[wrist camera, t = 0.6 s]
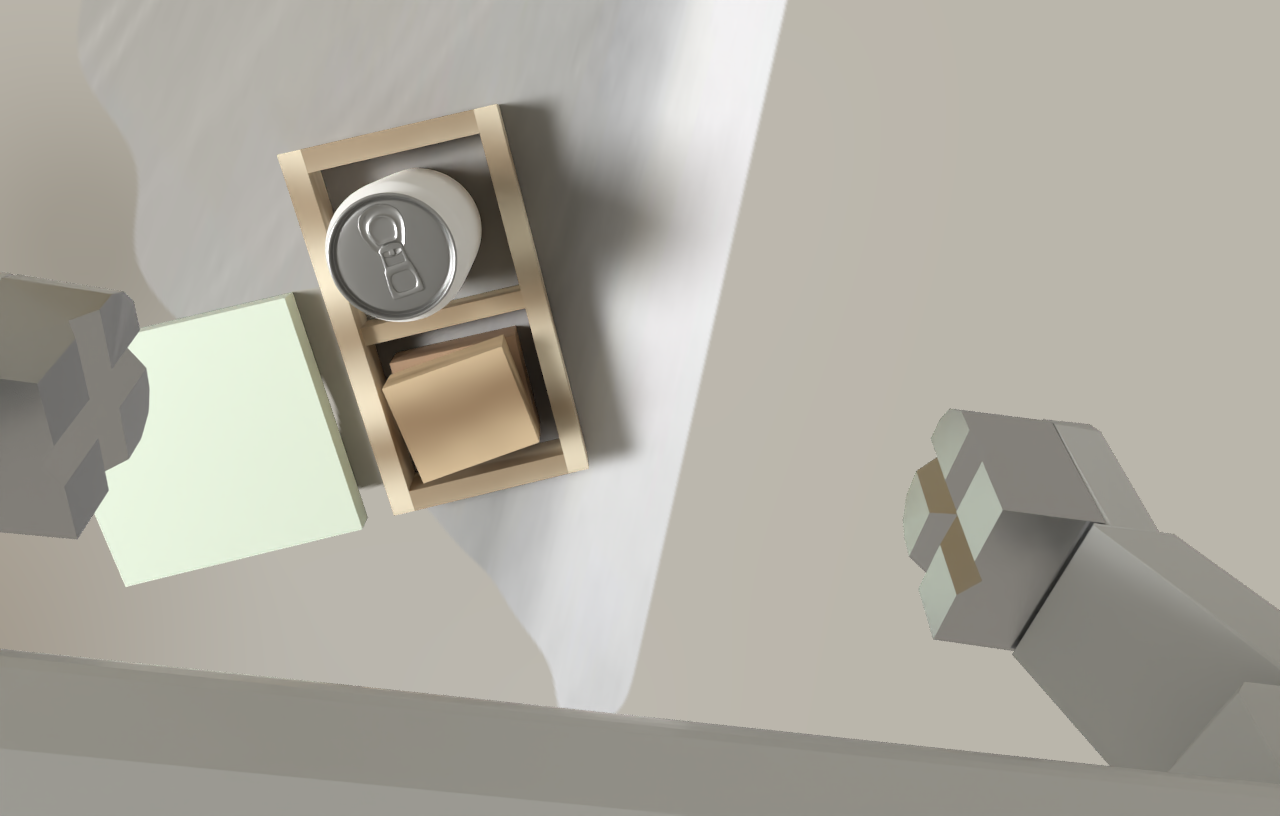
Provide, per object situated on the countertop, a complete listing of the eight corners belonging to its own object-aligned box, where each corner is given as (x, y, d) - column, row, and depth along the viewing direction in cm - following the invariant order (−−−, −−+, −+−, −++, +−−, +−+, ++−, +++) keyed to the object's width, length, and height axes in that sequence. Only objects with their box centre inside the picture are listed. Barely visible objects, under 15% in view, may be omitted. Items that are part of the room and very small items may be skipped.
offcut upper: (539, 425, 56) (539, 442, 53) (429, 464, 56) (423, 483, 53) (503, 334, 54) (501, 346, 51) (390, 374, 54) (381, 389, 51)
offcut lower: (540, 420, 59) (540, 436, 56) (425, 447, 59) (419, 464, 56) (515, 324, 57) (514, 335, 54) (397, 351, 57) (389, 363, 54)
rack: (586, 451, 59) (589, 468, 56) (401, 496, 59) (394, 515, 56) (498, 104, 53) (496, 104, 50) (291, 152, 53) (276, 155, 50)
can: (457, 151, 54) (434, 161, 42) (499, 263, 56) (488, 302, 44) (345, 189, 54) (291, 210, 42) (391, 300, 56) (352, 349, 44)
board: (367, 517, 59) (362, 529, 57) (137, 572, 59) (125, 586, 57) (292, 292, 55) (284, 297, 53) (44, 350, 55) (28, 358, 53)
